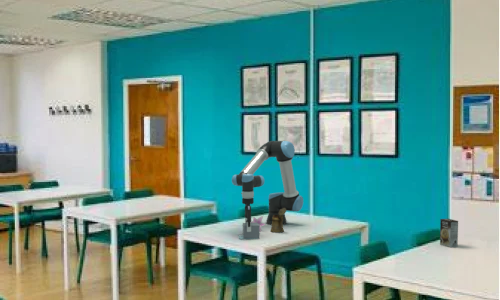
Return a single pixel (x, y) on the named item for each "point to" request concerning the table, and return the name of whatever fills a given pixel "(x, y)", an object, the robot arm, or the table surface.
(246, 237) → the matte grey cube
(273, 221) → the wooden mug
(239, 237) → the tape square
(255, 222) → the lily
